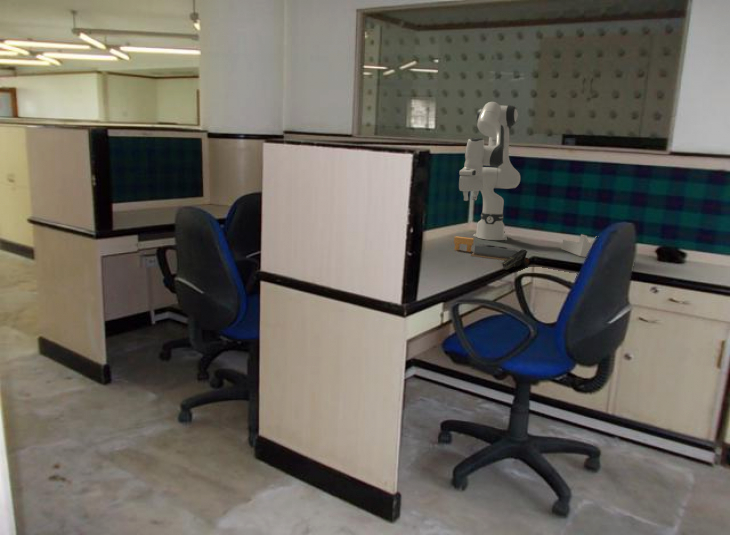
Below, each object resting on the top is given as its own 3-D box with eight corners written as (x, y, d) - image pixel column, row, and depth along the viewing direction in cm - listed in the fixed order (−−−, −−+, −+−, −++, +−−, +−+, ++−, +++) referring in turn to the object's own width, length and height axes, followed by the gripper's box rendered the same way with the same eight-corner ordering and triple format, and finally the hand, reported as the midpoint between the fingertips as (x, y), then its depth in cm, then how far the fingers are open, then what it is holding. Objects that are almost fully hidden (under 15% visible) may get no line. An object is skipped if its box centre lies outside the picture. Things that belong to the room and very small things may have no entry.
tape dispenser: (597, 258, 307) (602, 237, 305) (580, 256, 304) (585, 235, 302) (577, 250, 324) (581, 231, 322) (560, 248, 321) (565, 229, 319)
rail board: (475, 251, 302) (476, 242, 301) (521, 257, 295) (522, 247, 294) (470, 255, 291) (471, 246, 290) (517, 261, 284) (518, 252, 283)
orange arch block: (454, 249, 305) (455, 236, 304) (472, 251, 302) (473, 238, 301) (453, 250, 303) (454, 237, 301) (471, 252, 299) (472, 239, 298)
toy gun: (505, 282, 270) (501, 263, 265) (526, 262, 277) (522, 244, 272) (509, 283, 268) (505, 264, 263) (530, 263, 275) (526, 245, 270)
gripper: (476, 171, 307) (473, 199, 309) (457, 171, 290) (455, 200, 293) (487, 172, 303) (484, 200, 306) (470, 172, 286) (467, 201, 289)
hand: (470, 200), depth 299 cm, fingers open, 8 cm apart
